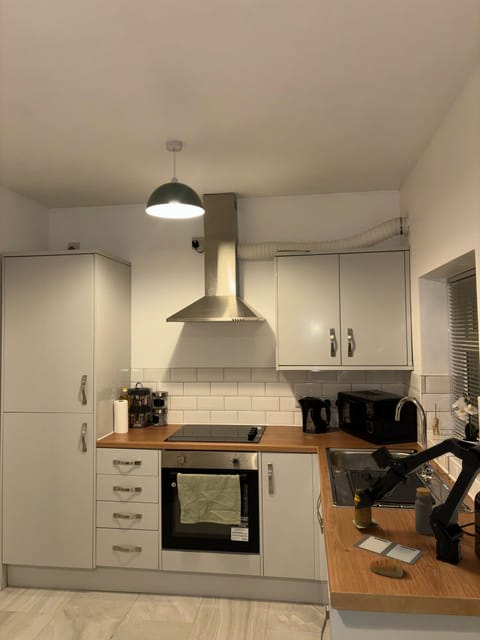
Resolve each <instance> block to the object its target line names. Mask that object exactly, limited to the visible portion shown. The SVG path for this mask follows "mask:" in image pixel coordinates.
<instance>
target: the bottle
mask: <svg viewBox="0 0 480 640" xmlns="http://www.w3.org/2000/svg"><path fill="white" fill-rule="evenodd" d="M415 497H416V498H417V499H415V501H414V512H415V513H414V515H415V516H414V518H415V519H414V522H415V523H414V525H415V531H416V533H418V534H419V535H422V536H423V535H424V536H430V535H434V534H433V531H432V529H431V527H430V524H429V520H430V518H429V516H430V515H431V514H432V511H433V508H434V507H433V502H432V501H431V499H432V495H431V489H430V488H427V487H417V488H416V494H415Z"/></svg>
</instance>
